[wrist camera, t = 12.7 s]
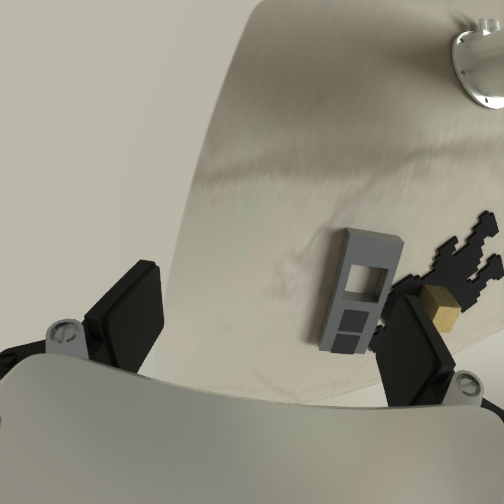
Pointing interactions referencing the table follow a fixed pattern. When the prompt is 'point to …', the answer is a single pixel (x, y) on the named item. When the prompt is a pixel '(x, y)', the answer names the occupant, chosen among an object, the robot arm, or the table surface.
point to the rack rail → (359, 304)
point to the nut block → (440, 306)
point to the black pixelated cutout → (451, 273)
